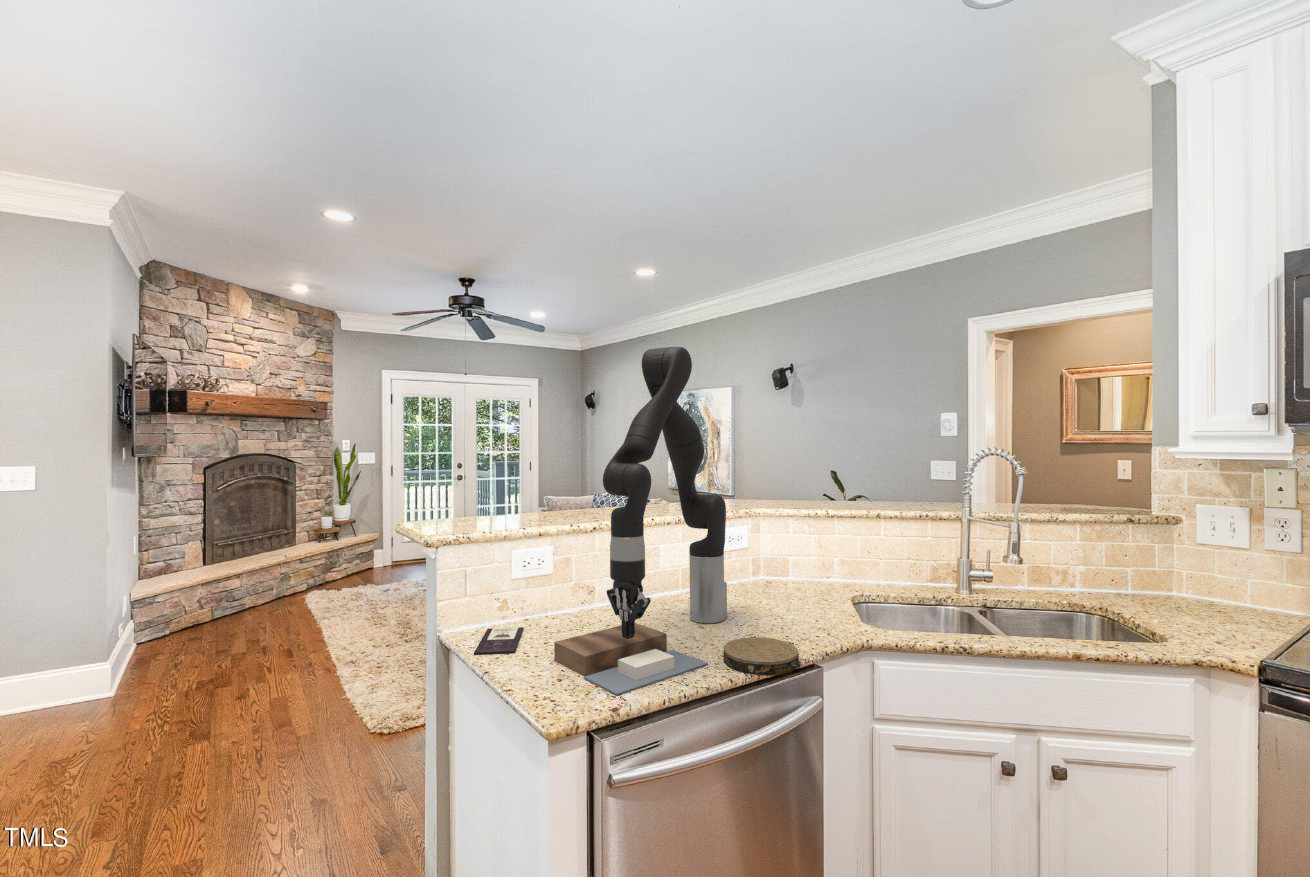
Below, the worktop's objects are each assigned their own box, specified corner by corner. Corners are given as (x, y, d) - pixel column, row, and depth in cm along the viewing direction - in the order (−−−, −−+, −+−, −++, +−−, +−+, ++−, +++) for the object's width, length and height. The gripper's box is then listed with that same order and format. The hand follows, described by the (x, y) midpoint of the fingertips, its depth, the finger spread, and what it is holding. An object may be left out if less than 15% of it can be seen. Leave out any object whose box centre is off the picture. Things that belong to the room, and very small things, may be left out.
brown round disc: (814, 664, 129) (813, 650, 129) (765, 683, 119) (764, 668, 119) (756, 645, 142) (756, 632, 142) (708, 661, 132) (707, 647, 132)
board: (633, 638, 146) (633, 622, 146) (666, 651, 137) (666, 633, 137) (554, 660, 132) (554, 641, 132) (585, 676, 123) (585, 656, 123)
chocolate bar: (473, 652, 136) (487, 628, 154) (473, 657, 136) (487, 632, 154) (514, 651, 137) (523, 627, 155) (514, 655, 137) (523, 631, 155)
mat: (673, 651, 137) (673, 649, 137) (707, 664, 129) (707, 663, 129) (583, 678, 121) (583, 676, 121) (616, 695, 113) (616, 693, 113)
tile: (674, 656, 126) (674, 668, 126) (655, 648, 130) (655, 660, 130) (635, 667, 119) (635, 680, 119) (617, 659, 124) (617, 671, 124)
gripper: (660, 558, 128) (661, 641, 127) (622, 550, 138) (623, 627, 137) (632, 563, 123) (633, 649, 123) (595, 554, 133) (596, 634, 133)
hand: (628, 637), depth 130 cm, fingers closed
